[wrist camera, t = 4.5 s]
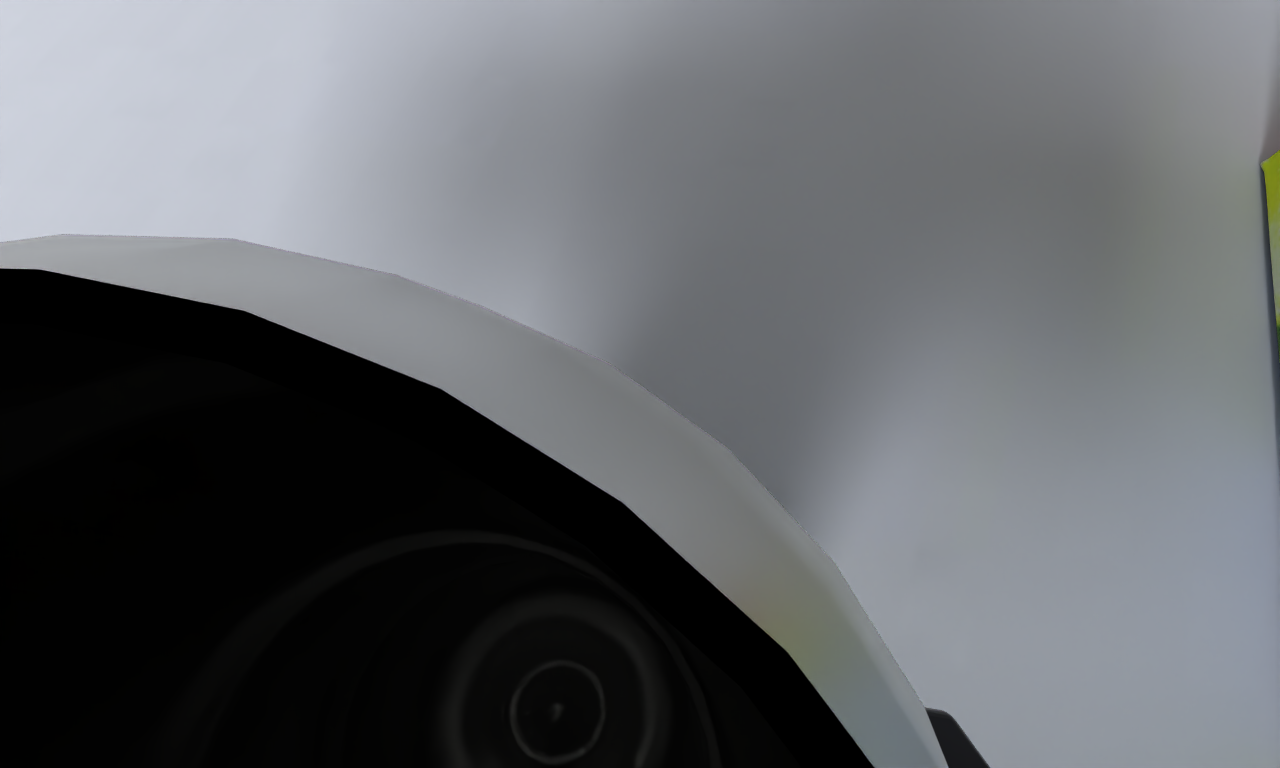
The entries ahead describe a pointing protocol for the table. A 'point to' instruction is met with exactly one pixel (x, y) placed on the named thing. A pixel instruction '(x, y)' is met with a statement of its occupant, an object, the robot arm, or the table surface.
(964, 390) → the table surface
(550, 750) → the plastic bottle
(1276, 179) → the snack box
